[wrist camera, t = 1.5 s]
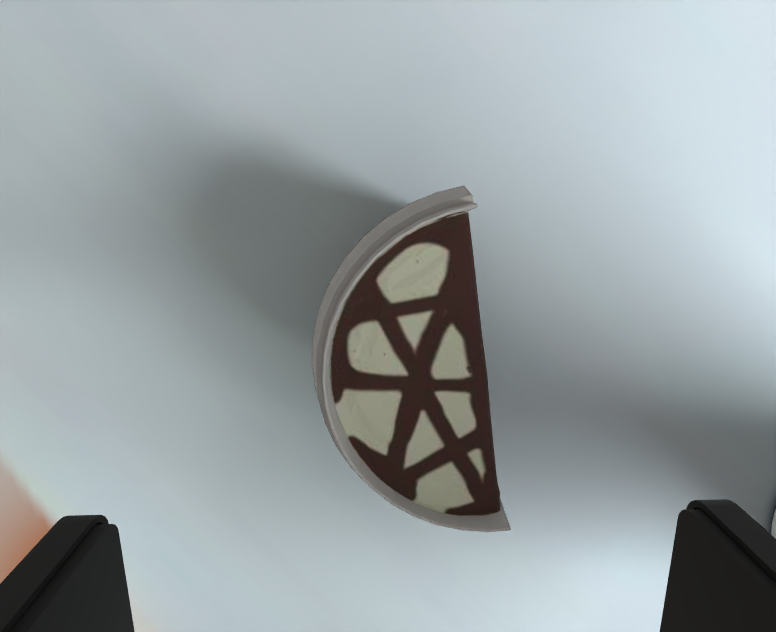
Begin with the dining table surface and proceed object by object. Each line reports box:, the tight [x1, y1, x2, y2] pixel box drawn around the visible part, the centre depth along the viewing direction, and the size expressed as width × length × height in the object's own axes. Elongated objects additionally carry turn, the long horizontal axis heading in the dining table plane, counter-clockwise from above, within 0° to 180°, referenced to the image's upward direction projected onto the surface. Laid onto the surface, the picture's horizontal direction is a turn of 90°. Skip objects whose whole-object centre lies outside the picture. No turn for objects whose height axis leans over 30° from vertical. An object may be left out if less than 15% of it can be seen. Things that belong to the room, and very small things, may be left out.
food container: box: [312, 186, 511, 532], centre depth 21 cm, size 12×6×10 cm, turn 8°
